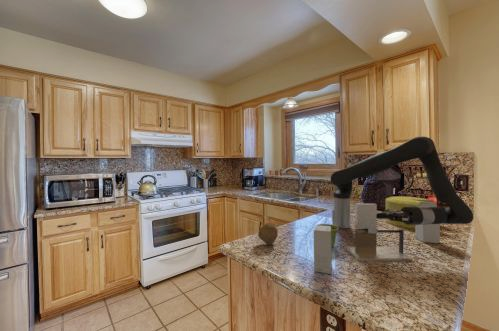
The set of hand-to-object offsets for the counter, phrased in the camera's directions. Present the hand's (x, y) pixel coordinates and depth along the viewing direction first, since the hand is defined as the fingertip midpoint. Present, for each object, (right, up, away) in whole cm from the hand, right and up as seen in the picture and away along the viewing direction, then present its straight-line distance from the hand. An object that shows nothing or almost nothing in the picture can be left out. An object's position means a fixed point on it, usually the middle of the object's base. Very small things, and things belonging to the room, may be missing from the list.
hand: (375, 215), depth 94 cm
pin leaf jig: (+1, -16, +1) cm, 16 cm away
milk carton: (+35, -16, +17) cm, 42 cm away
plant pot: (-16, -16, +11) cm, 26 cm away
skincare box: (-26, -17, -11) cm, 33 cm away
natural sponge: (-44, -16, +12) cm, 48 cm away
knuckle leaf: (-4, -7, 0) cm, 8 cm away
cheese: (+48, -15, +48) cm, 70 cm away
